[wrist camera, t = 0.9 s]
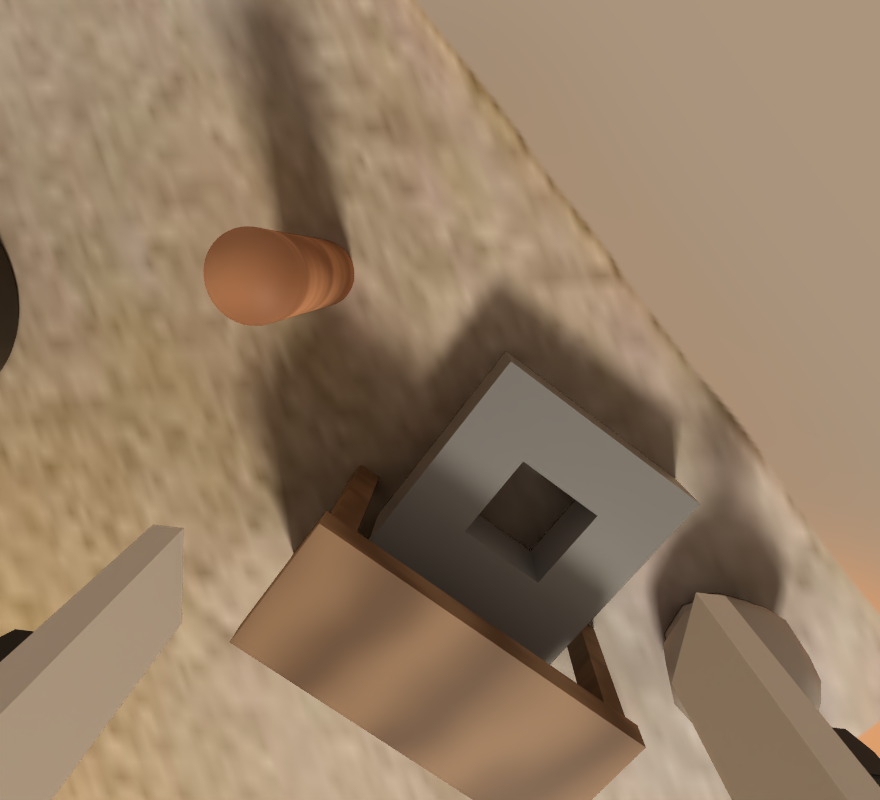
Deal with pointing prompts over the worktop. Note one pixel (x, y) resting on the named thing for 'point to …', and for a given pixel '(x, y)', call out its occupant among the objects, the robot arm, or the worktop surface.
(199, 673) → the worktop surface
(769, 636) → the potion bottle
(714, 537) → the worktop surface
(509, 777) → the wooden bench
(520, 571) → the socket block
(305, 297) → the peg
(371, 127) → the worktop surface
